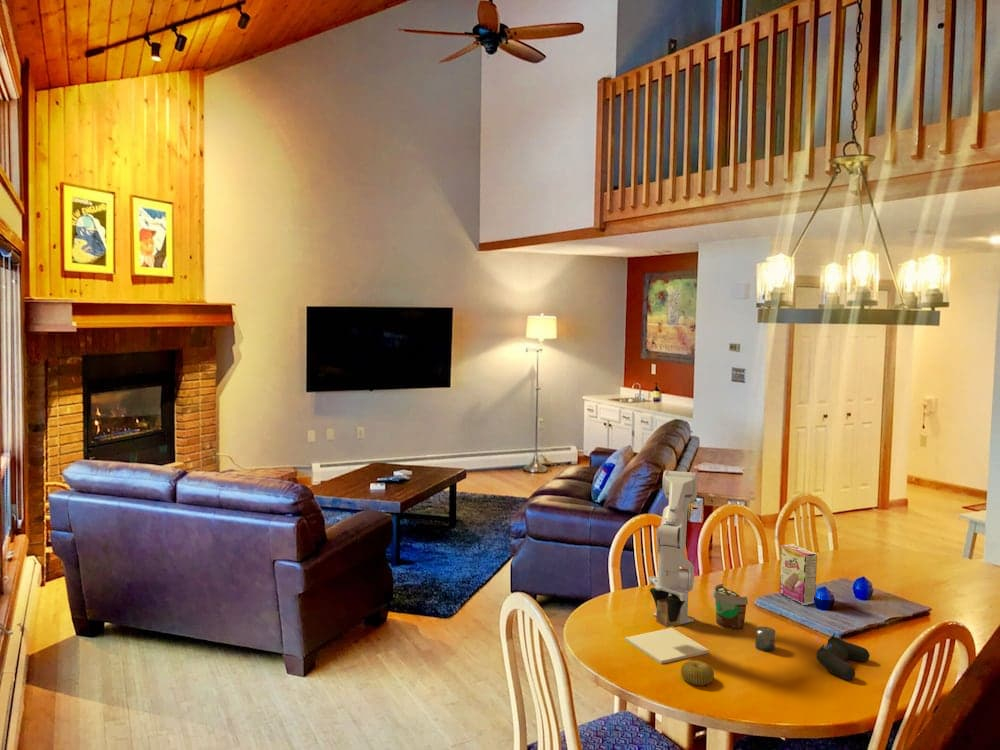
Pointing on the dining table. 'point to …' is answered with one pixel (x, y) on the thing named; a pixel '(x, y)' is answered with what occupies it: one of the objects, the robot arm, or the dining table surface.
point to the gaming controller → (841, 657)
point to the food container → (729, 608)
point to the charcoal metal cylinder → (765, 639)
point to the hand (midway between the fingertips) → (667, 617)
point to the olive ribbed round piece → (697, 672)
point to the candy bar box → (798, 573)
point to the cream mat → (666, 645)
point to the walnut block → (665, 614)
